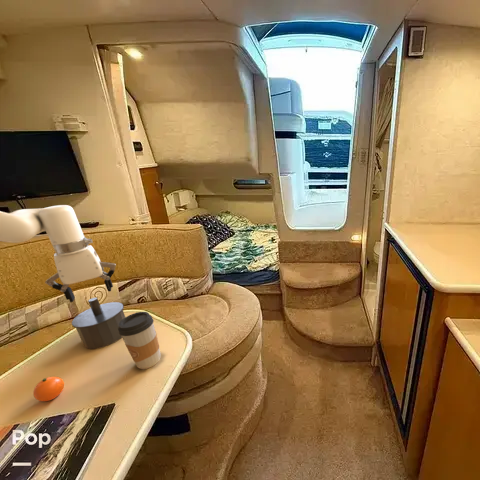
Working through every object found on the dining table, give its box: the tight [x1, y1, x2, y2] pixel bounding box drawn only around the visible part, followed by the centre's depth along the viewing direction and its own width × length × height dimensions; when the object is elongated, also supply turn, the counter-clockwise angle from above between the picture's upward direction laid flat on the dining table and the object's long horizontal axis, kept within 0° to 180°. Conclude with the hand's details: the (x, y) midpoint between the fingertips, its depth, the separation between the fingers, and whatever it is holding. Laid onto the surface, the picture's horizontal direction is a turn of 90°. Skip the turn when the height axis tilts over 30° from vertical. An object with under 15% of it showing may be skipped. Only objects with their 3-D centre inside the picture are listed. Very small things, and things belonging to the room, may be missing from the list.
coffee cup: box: [118, 311, 162, 370], centre depth 77 cm, size 8×8×15 cm
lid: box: [71, 297, 125, 329], centre depth 89 cm, size 14×14×7 cm
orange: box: [33, 376, 65, 402], centre depth 69 cm, size 6×6×6 cm
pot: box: [75, 309, 126, 350], centre depth 91 cm, size 13×13×8 cm
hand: (91, 294), depth 87 cm, fingers open, 9 cm apart
